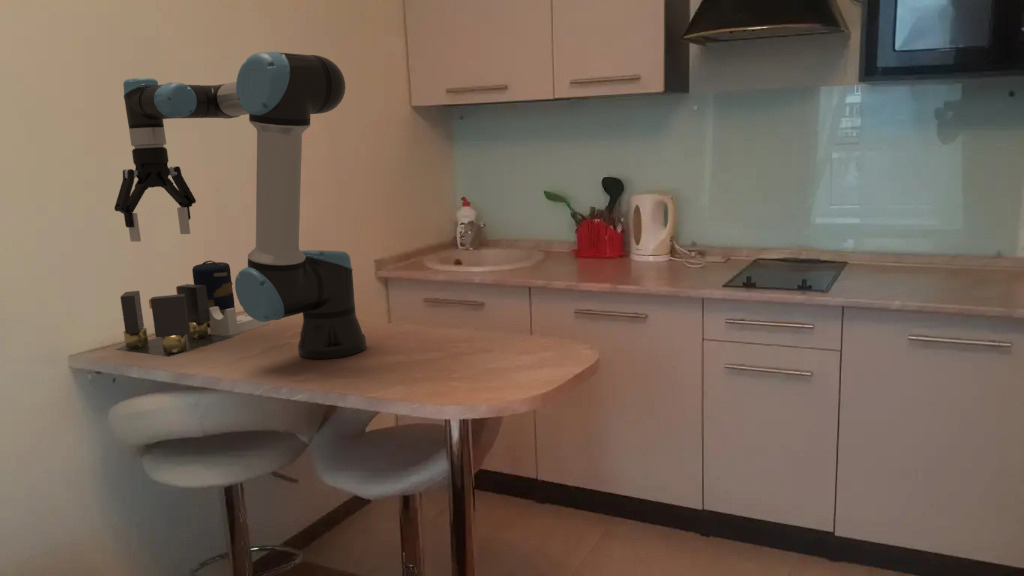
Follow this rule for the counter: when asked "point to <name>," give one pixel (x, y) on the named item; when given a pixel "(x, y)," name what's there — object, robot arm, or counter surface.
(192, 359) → the counter surface
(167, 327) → the dark grey block
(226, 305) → the canister
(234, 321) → the bracket
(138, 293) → the brass knob with block
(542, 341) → the counter surface
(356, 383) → the counter surface
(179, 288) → the knob right
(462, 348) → the counter surface
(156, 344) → the level plate
